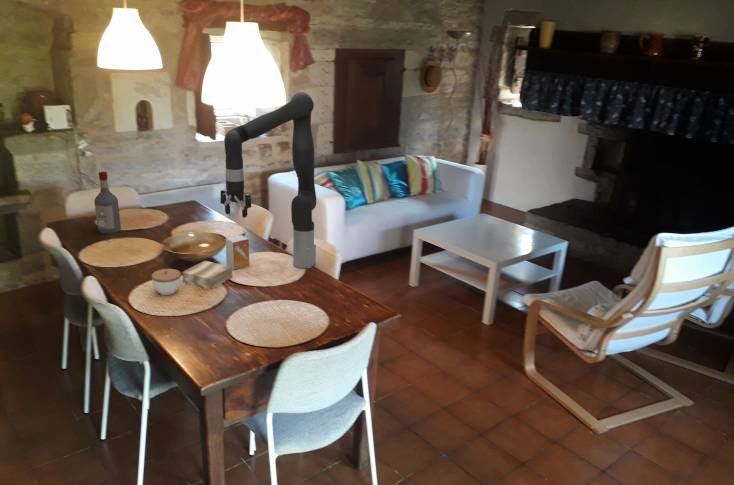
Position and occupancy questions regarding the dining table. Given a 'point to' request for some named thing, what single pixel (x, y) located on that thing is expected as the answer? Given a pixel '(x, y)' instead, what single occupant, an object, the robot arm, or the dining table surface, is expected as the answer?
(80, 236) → the dining table surface
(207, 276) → the birch plinth
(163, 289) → the lidded jar
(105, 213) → the liquor
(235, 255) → the small box
